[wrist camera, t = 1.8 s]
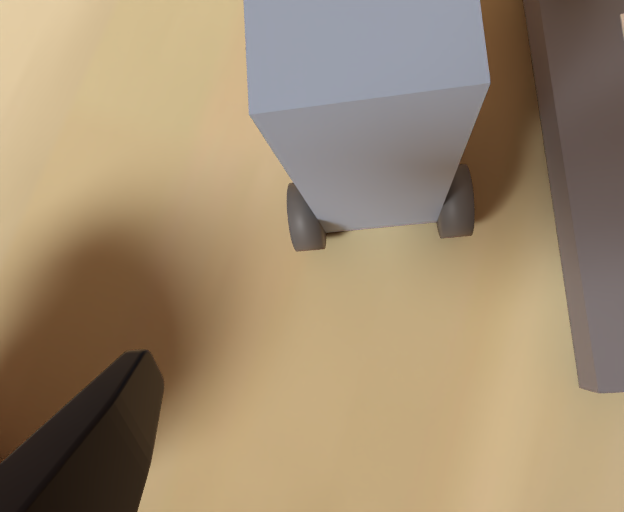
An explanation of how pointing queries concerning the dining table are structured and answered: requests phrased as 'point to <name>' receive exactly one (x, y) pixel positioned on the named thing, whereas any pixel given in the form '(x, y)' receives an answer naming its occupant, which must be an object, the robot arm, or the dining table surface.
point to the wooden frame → (585, 170)
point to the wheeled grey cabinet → (368, 109)
